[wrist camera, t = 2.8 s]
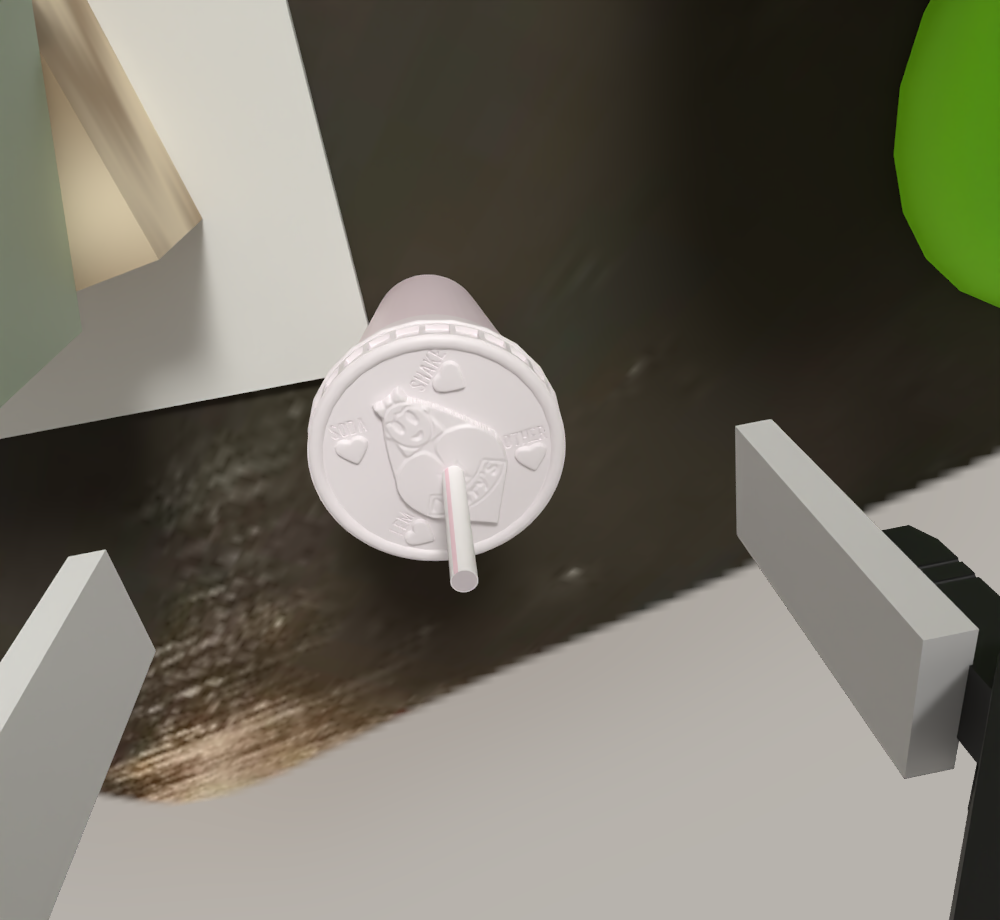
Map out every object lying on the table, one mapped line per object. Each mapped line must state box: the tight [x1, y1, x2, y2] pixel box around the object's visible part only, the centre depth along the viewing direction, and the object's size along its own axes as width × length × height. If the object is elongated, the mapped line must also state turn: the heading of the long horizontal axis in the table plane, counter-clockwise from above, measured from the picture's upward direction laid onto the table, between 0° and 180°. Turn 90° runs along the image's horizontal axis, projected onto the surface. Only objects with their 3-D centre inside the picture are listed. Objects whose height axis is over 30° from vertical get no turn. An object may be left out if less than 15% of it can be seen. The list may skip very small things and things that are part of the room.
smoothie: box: [307, 275, 565, 592], centre depth 21 cm, size 6×6×14 cm
